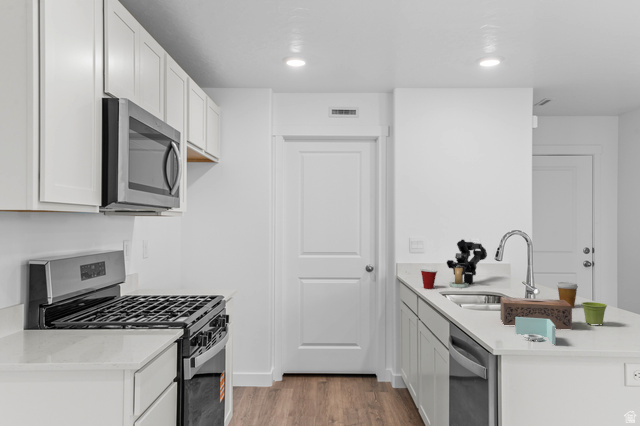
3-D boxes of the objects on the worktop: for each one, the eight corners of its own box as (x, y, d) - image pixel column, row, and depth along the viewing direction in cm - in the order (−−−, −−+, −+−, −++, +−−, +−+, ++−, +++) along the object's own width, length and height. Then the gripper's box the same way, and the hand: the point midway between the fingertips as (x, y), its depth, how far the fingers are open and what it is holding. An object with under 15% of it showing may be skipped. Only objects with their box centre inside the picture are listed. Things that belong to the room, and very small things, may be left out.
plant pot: (607, 328, 194) (606, 306, 194) (580, 325, 199) (580, 304, 199) (607, 323, 202) (607, 303, 202) (582, 321, 207) (582, 301, 207)
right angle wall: (515, 336, 181) (515, 316, 181) (549, 338, 178) (549, 319, 178) (518, 344, 170) (518, 323, 170) (555, 347, 166) (555, 326, 166)
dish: (455, 284, 317) (455, 281, 317) (470, 286, 308) (470, 283, 309) (446, 286, 309) (446, 283, 309) (461, 288, 301) (461, 284, 301)
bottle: (457, 283, 313) (457, 264, 313) (464, 284, 309) (464, 264, 309) (453, 284, 309) (453, 264, 309) (460, 285, 306) (460, 265, 306)
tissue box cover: (564, 323, 203) (564, 300, 203) (571, 330, 189) (571, 306, 190) (500, 319, 211) (500, 296, 211) (503, 326, 197) (503, 302, 197)
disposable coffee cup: (577, 306, 242) (577, 282, 242) (578, 309, 233) (578, 285, 233) (556, 304, 246) (556, 281, 246) (557, 307, 237) (557, 284, 237)
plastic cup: (439, 289, 295) (439, 270, 295) (422, 289, 295) (422, 270, 295) (435, 287, 306) (435, 268, 306) (418, 287, 306) (418, 268, 306)
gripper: (447, 248, 318) (440, 265, 309) (474, 249, 306) (468, 267, 298) (452, 258, 324) (445, 276, 315) (479, 260, 313) (473, 278, 304)
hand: (457, 274), depth 308 cm, fingers closed on bottle, 5 cm apart
